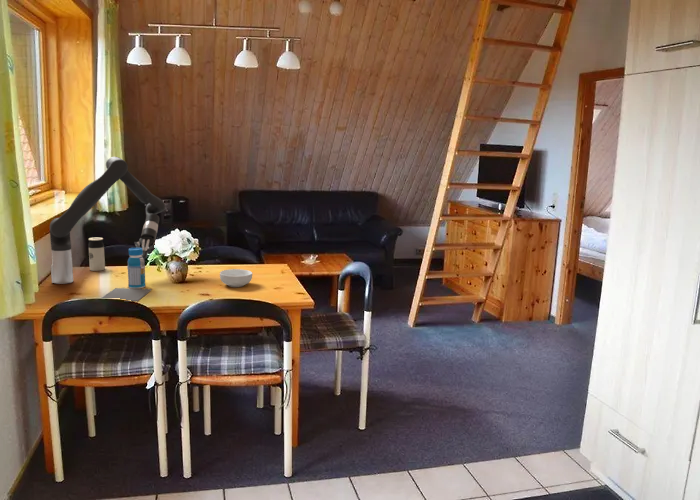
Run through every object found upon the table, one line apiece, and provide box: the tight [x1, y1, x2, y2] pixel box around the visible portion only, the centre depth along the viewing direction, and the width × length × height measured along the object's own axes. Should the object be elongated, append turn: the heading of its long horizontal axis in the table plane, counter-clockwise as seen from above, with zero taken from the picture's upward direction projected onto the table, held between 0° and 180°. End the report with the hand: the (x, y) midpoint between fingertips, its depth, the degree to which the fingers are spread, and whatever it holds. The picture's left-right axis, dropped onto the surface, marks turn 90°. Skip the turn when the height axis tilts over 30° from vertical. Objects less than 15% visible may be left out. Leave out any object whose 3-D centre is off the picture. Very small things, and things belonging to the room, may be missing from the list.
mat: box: [101, 287, 152, 302], centre depth 283 cm, size 18×21×1 cm
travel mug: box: [87, 237, 106, 272], centre depth 330 cm, size 8×8×18 cm
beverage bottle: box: [126, 247, 146, 289], centre depth 296 cm, size 8×8×20 cm
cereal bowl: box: [219, 268, 253, 288], centre depth 307 cm, size 17×17×7 cm
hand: (143, 258), depth 306 cm, fingers closed
